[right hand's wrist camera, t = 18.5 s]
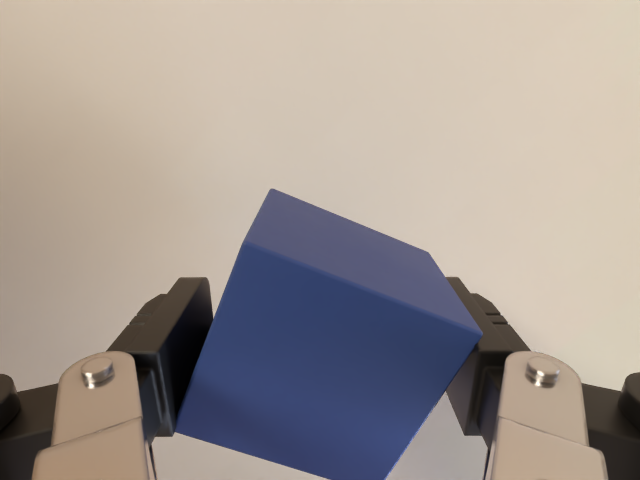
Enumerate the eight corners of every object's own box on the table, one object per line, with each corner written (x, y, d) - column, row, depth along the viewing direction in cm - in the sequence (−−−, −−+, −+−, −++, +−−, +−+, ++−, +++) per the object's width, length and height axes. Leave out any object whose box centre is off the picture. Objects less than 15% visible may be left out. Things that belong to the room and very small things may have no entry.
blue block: (359, 375, 13) (376, 495, 9) (217, 325, 13) (170, 432, 9) (429, 252, 12) (485, 334, 8) (271, 187, 11) (242, 241, 7)
